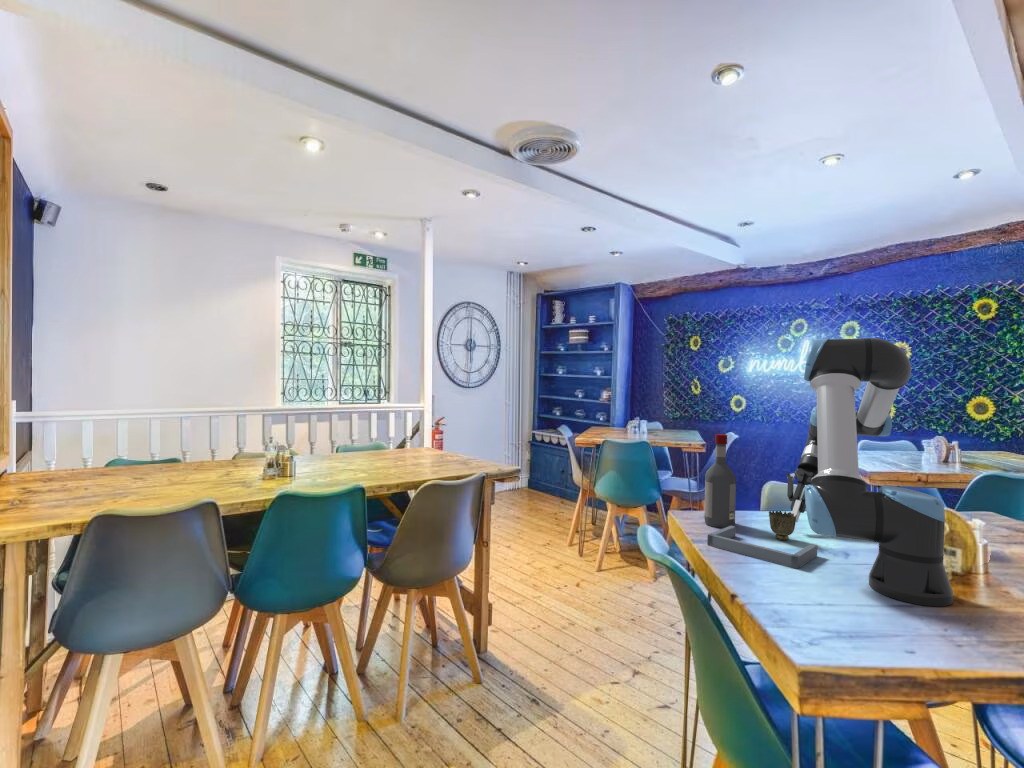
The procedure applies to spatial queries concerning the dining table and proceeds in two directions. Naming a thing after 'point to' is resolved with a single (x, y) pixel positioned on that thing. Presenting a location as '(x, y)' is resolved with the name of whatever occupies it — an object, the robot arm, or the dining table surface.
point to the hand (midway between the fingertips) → (793, 519)
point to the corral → (760, 549)
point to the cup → (782, 524)
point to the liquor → (720, 489)
